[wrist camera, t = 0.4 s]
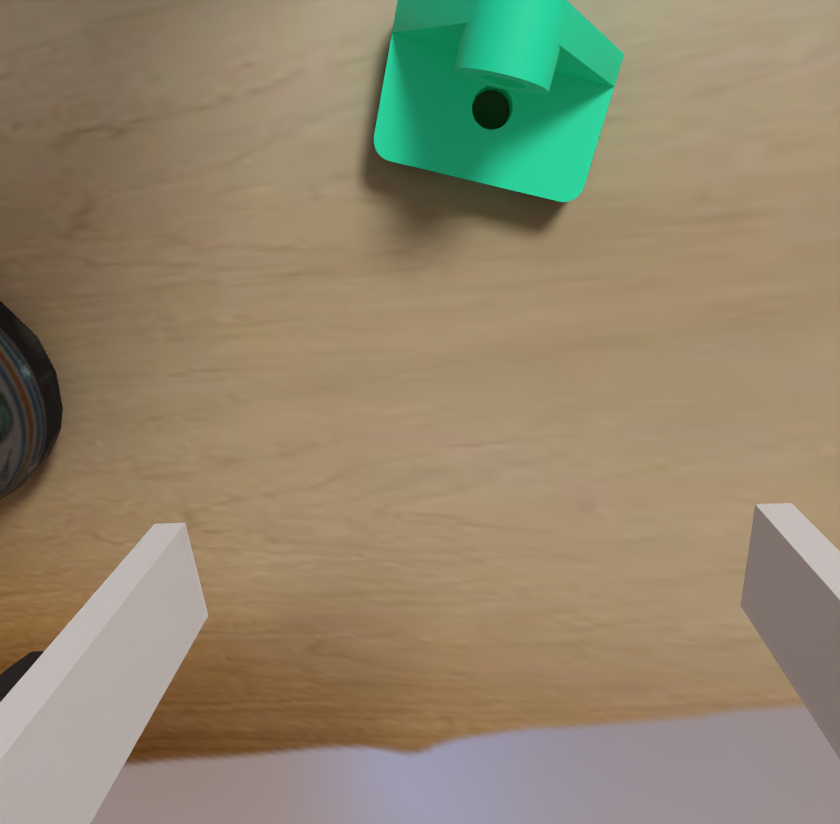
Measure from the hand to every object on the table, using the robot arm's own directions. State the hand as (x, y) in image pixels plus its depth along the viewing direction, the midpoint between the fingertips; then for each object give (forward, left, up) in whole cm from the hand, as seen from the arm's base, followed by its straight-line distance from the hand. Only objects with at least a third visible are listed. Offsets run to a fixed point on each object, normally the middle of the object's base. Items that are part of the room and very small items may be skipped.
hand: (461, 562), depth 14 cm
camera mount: (-12, +2, -27) cm, 30 cm away
